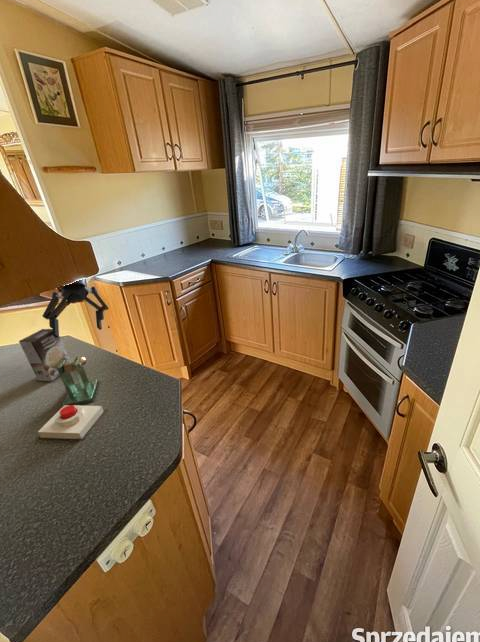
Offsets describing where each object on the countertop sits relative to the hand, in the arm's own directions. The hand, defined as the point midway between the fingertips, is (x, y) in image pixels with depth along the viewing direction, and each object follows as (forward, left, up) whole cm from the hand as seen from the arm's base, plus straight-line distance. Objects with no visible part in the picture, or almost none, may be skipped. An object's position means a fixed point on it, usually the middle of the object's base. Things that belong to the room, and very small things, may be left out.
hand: (78, 332), depth 102 cm
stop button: (+13, -27, -11) cm, 32 cm away
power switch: (+7, -15, -15) cm, 22 cm away
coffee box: (-11, -4, -15) cm, 19 cm away
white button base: (+13, -27, -15) cm, 33 cm away
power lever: (+5, -11, -7) cm, 14 cm away
